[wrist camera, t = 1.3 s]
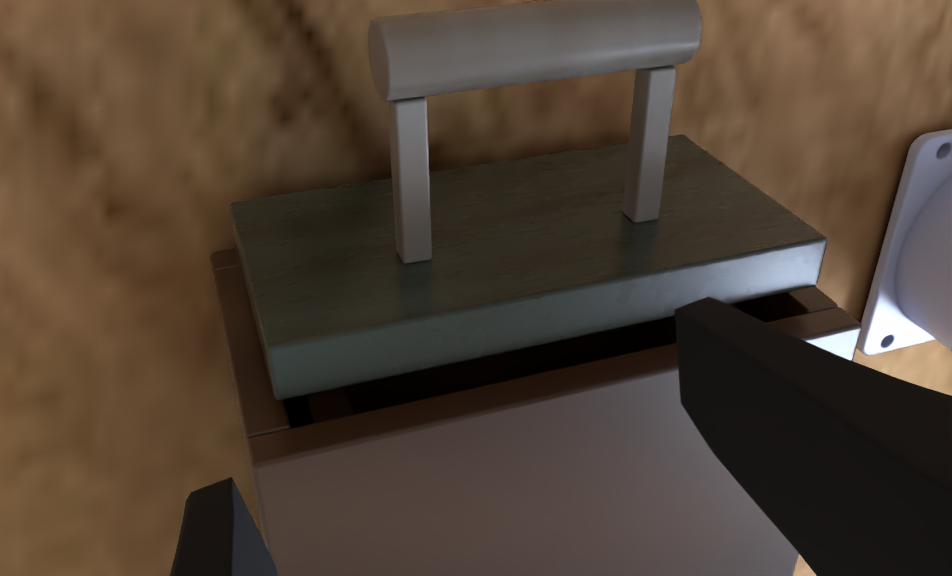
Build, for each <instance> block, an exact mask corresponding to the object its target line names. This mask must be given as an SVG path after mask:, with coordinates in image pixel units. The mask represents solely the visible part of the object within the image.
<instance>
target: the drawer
mask: <svg viewBox="0 0 952 576" xmlns="http://www.w3.org/2000/svg"><path fill="white" fill-rule="evenodd" d="M701 36H702V18H701V12H700V8H699V5H698V3H697V0H550V1H540V2H530V3H520V4H510V5H499V6H489V7H479V8H469V9H459V10H449V11H439V12H428V13H418V14H408V15H398V16H388V17H378V18H374V19H372V20H371V22H370V26H369V32H368V50H369V60H370V67H371V72H372V77H373V81H374V84H375V87H376V90H377V92H378V94H379V96H380V98H381V99H382V100H384V101H388V116H389V134H390V151H391V168H392V178H389V179H382V180H376V181H369V182H362V183H356V184H349V185H342V186H336V187H329V188H322V189H316V190H309V191H302V192H296V193H289V194H282V195H276V196H269V197H262V198H256V199H249V200H242V201H236V202H232V203H230V206H229V207H230V213H231V219H232V225H233V231H234V237H235V243H236V248H237V252H238V256H239V260H240V264H241V268H242V272H243V276H244V280H245V284H246V288H247V292H248V296H249V300H250V304H251V308H252V311H253V315H254V319H255V323H256V327H257V331H258V335H259V339H260V343H261V347H262V351H263V355H264V359H265V363H266V367H267V371H268V375H269V379H270V383H271V387H272V391H273V395H274V397H275V399H276V400H284V399H289V398H291V402H292V408H293V415H294V422H295V427H300V426H304V425H309V424H313V423H318V422H322V421H327V420H331V419H336V418H340V417H345V416H349V415H354V414H358V413H363V412H367V411H372V410H376V409H381V408H385V407H390V406H394V405H399V404H403V403H408V402H412V401H417V400H421V399H426V398H430V397H434V396H439V395H443V394H448V393H452V392H457V391H461V390H466V389H470V388H475V387H479V386H484V385H488V384H493V383H497V382H502V381H506V380H511V379H515V378H520V377H524V376H529V375H533V374H538V373H542V372H547V371H551V370H556V369H560V368H565V367H569V366H574V365H578V364H583V363H587V362H592V361H596V360H601V359H605V358H610V357H614V356H619V355H623V354H628V353H632V352H637V351H641V350H646V349H650V348H655V347H659V346H663V345H668V344H672V343H677V338H676V322H675V309H677V308H679V307H682V306H685V305H687V304H690V303H693V302H695V301H698V300H700V299H703V298H706V297H708V296H709V297H711V298H714V299H716V300H718V301H720V302H723V303H725V304H727V305H729V306H731V307H733V308H735V309H738V310H740V309H739V308H738V307H737V306H736V305H735V304H734V303H739V302H744V301H748V300H753V299H758V298H762V297H767V296H772V295H776V294H781V293H786V292H790V291H795V290H800V289H804V288H809V287H814V286H816V284H817V282H818V278H819V274H820V270H821V265H822V261H823V257H824V253H825V249H826V244H827V238H826V237H825V236H824V235H823V234H821V233H820V232H818V231H817V230H816V229H814V228H813V227H811V226H810V225H809V224H807V223H806V222H804V221H803V220H802V219H800V218H799V217H797V216H796V215H795V214H793V213H792V212H791V211H789V210H788V209H786V208H785V207H784V206H782V205H781V204H779V203H778V202H777V201H775V200H774V199H772V198H771V197H770V196H768V195H767V194H766V193H764V192H763V191H761V190H760V189H759V188H757V187H756V186H754V185H753V184H752V183H750V182H749V181H747V180H746V179H745V178H743V177H742V176H740V175H739V174H738V173H736V172H735V171H734V170H732V169H731V168H729V167H728V166H727V165H725V164H724V163H722V162H721V161H720V160H718V159H717V158H715V157H714V156H713V155H711V154H710V153H709V152H707V151H706V150H704V149H703V148H702V147H700V146H699V145H697V144H696V143H695V142H693V141H692V140H690V139H689V138H688V137H686V136H685V135H675V136H669V137H668V135H669V127H670V118H671V110H672V102H673V93H674V85H675V77H676V68H675V67H673V66H672V65H678V64H684V63H687V62H689V61H690V60H691V59H692V58H693V57H694V56H695V54H696V53H697V51H698V48H699V45H700V41H701ZM630 70H636V71H635V82H634V92H633V103H632V113H631V124H630V134H629V143H622V144H615V145H609V146H602V147H595V148H589V149H582V150H576V151H569V152H562V153H556V154H549V155H542V156H536V157H529V158H522V159H516V160H509V161H502V162H496V163H489V164H482V165H476V166H469V167H462V168H456V169H449V170H442V171H436V172H429V149H428V119H427V101H426V99H425V98H424V97H423V96H431V95H439V94H447V93H455V92H463V91H470V90H478V89H486V88H494V87H502V86H510V85H518V84H526V83H534V82H542V81H550V80H558V79H566V78H574V77H582V76H590V75H598V74H606V73H614V72H622V71H630ZM740 311H741V310H740Z"/></svg>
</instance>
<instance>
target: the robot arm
mask: <svg viewBox="0 0 952 576" xmlns="http://www.w3.org/2000/svg"><path fill="white" fill-rule="evenodd" d="M939 148H940V149H939ZM938 149H939V150H938ZM675 322H676V338H677V353H678V369H679V385H680V400H681V404H682V406H683V407H684V409H685V411H686V412H687V414H688V415H689V417H690V419H691V420H692V422H693V423H694V425H695V426H696V428H697V430H698V431H699V433H700V434H701V436H702V437H703V439H704V440H705V442H706V443H707V445H708V446H709V448H710V449H711V450H712V452H713V453H714V455H715V456H716V457H717V458H718V459H719V461H720V462H721V463H722V464H723V465H724V467H725V468H726V469H727V470H728V471H729V473H730V474H731V475H732V476H733V477H734V478H735V480H736V481H737V482H738V483H739V484H740V485H741V487H742V488H743V489H744V490H745V491H746V493H747V494H748V495H749V496H750V497H751V498H752V499H753V501H754V502H755V503H756V504H757V505H758V506H759V508H760V509H761V510H762V511H763V512H764V513H765V514H766V516H767V517H768V518H769V519H770V520H771V521H772V523H773V524H774V525H775V526H776V527H777V528H778V530H779V531H780V532H781V533H782V534H783V535H784V536H785V538H786V539H787V540H788V541H789V542H790V543H791V545H792V546H793V547H794V548H795V549H796V550H797V551H798V553H799V554H800V555H801V556H802V557H803V559H804V560H805V561H806V562H807V564H808V565H809V566H810V568H811V569H812V570H813V571H814V573H815V574H816V575H817V576H952V396H950V395H947V394H944V393H940V392H937V391H934V390H931V389H927V388H924V387H921V386H918V385H915V384H912V383H909V382H906V381H903V380H900V379H898V378H895V377H892V376H890V375H887V374H884V373H882V372H879V371H876V370H874V369H871V368H868V367H866V366H863V365H861V364H858V363H855V362H853V361H851V360H848V359H846V358H843V357H841V356H838V355H836V354H834V353H831V352H829V351H827V350H824V349H822V348H820V347H817V346H815V345H813V344H811V343H808V342H806V341H804V340H802V339H800V338H797V337H795V336H793V335H791V334H789V333H786V332H784V331H782V330H780V329H778V328H776V327H774V326H771V325H769V324H767V323H765V322H763V321H761V320H759V319H757V318H754V317H752V316H750V315H748V314H746V313H744V312H742V311H740V310H738V309H735V308H733V307H731V306H729V305H727V304H725V303H723V302H720V301H718V300H716V299H714V298H711V297H709V296H708V297H706V298H703V299H700V300H698V301H695V302H693V303H690V304H687V305H685V306H682V307H679V308H677V309H675ZM861 326H862V328H861V332H860V336H859V339H858V343H857V349H858V350H859V351H861V352H862V353H863V354H865V355H873V354H877V353H881V352H886V351H890V350H894V349H898V348H902V347H906V346H910V345H914V344H918V343H922V342H927V341H931V340H935V339H936V340H938V341H939V342H940V343H942V344H943V345H944V346H946V347H947V348H948V349H950V350H951V351H952V129H949V130H943V131H937V132H930V133H926V134H923V135H921V136H919V137H918V138H917V139H915V141H914V142H913V143H912V144H911V147H910V149H909V152H908V155H907V159H906V163H905V166H904V170H903V173H902V177H901V181H900V184H899V188H898V191H897V195H896V199H895V202H894V206H893V210H892V213H891V217H890V220H889V224H888V228H887V231H886V235H885V239H884V242H883V246H882V249H881V253H880V257H879V260H878V264H877V267H876V271H875V275H874V278H873V282H872V286H871V289H870V293H869V296H868V300H867V304H866V307H865V311H864V315H863V318H862V322H861ZM170 576H278V573H277V569H276V565H275V563H274V561H273V559H272V557H271V555H270V553H269V551H268V549H267V547H266V545H265V543H264V541H263V539H262V537H261V535H260V533H259V531H258V529H257V527H256V525H255V523H254V521H253V519H252V517H251V515H250V513H249V511H248V508H247V506H246V504H245V502H244V500H243V498H242V496H241V494H240V492H239V490H238V488H237V486H236V484H235V482H234V480H233V478H232V477H230V478H228V479H225V480H222V481H220V482H217V483H214V484H212V485H209V486H206V487H204V488H201V489H198V490H196V491H193V492H191V493H190V494H189V496H188V498H187V500H186V502H185V509H184V515H183V520H182V525H181V530H180V535H179V540H178V544H177V549H176V553H175V557H174V561H173V565H172V569H171V573H170Z"/></svg>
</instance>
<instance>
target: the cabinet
mask: <svg viewBox="0 0 952 576" xmlns="http://www.w3.org/2000/svg"><path fill="white" fill-rule="evenodd" d="M210 261H211V266H212V271H213V277H214V282H215V288H216V293H217V298H218V304H219V309H220V314H221V320H222V325H223V330H224V336H225V341H226V346H227V352H228V357H229V362H230V368H231V373H232V378H233V384H234V389H235V394H236V400H237V405H238V411H239V416H240V421H241V427H242V432H243V437H244V443H245V448H246V453H247V459H248V464H249V469H250V475H251V480H252V485H253V491H254V496H255V501H256V507H257V512H258V517H259V523H260V528H261V533H262V539H263V541H264V543H265V545H266V547H267V549H268V551H269V553H270V555H271V557H272V559H273V561H274V563H275V565H276V569H277V573H278V576H793V573H794V570H795V566H796V563H797V559H798V555H799V553H798V551H797V550H796V549H795V548H794V547H793V546H792V545H791V543H790V542H789V541H788V540H787V539H786V538H785V536H784V535H783V534H782V533H781V532H780V531H779V530H778V528H777V527H776V526H775V525H774V524H773V523H772V521H771V520H770V519H769V518H768V517H767V516H766V514H765V513H764V512H763V511H762V510H761V509H760V508H759V506H758V505H757V504H756V503H755V502H754V501H753V499H752V498H751V497H750V496H749V495H748V494H747V493H746V491H745V490H744V489H743V488H742V487H741V485H740V484H739V483H738V482H737V481H736V480H735V478H734V477H733V476H732V475H731V474H730V473H729V471H728V470H727V469H726V468H725V467H724V465H723V464H722V463H721V462H720V461H719V459H718V458H717V457H716V456H715V455H714V453H713V452H712V450H711V449H710V448H709V446H708V445H707V443H706V442H705V440H704V439H703V437H702V436H701V434H700V433H699V431H698V430H697V428H696V426H695V425H694V423H693V422H692V420H691V419H690V417H689V415H688V414H687V412H686V411H685V409H684V407H683V406H682V404H681V400H680V385H679V369H678V353H677V343H672V344H668V345H663V346H659V347H655V348H650V349H646V350H641V351H637V352H632V353H628V354H623V355H619V356H614V357H610V358H605V359H601V360H596V361H592V362H587V363H583V364H578V365H574V366H569V367H565V368H560V369H556V370H551V371H547V372H542V373H538V374H533V375H529V376H524V377H520V378H515V379H511V380H506V381H502V382H497V383H493V384H488V385H484V386H479V387H475V388H470V389H466V390H461V391H457V392H452V393H448V394H443V395H439V396H434V397H430V398H426V399H421V400H417V401H412V402H408V403H403V404H399V405H394V406H390V407H385V408H381V409H376V410H372V411H367V412H363V413H358V414H354V415H349V416H345V417H340V418H336V419H331V420H327V421H322V422H318V423H313V424H309V425H304V426H300V427H295V422H294V415H293V408H292V402H291V398H289V399H284V400H276V399H275V397H274V395H273V391H272V387H271V383H270V379H269V375H268V371H267V367H266V363H265V359H264V355H263V351H262V347H261V343H260V339H259V335H258V331H257V327H256V323H255V319H254V315H253V311H252V308H251V304H250V300H249V296H248V292H247V288H246V284H245V280H244V276H243V272H242V268H241V264H240V260H239V256H238V252H237V250H231V251H225V252H219V253H213V254H211V255H210ZM734 304H735V305H736V306H737V307H738V308H739V309H740V310H741V311H742V312H744V313H746V314H748V315H750V316H752V317H754V318H757V319H759V320H761V321H763V322H765V323H767V324H769V325H771V326H774V327H776V328H778V329H780V330H782V331H784V332H786V333H789V334H791V335H793V336H795V337H797V338H800V339H802V340H804V341H806V342H808V343H811V344H813V345H815V346H817V347H820V348H822V349H824V350H827V351H829V352H831V353H834V354H836V355H838V356H841V357H843V358H846V359H848V360H851V361H853V357H854V354H855V350H856V347H857V343H858V339H859V336H860V332H861V328H862V326H861V324H860V323H859V322H858V321H857V320H856V319H854V318H853V317H852V316H851V315H849V314H848V313H847V312H846V311H844V310H843V309H842V308H840V307H838V306H837V303H835V302H834V301H833V300H832V299H830V298H829V297H828V296H827V295H825V294H824V293H823V292H822V291H820V290H819V289H818V288H817V287H815V286H814V287H809V288H804V289H800V290H795V291H790V292H786V293H781V294H776V295H772V296H767V297H762V298H758V299H753V300H748V301H744V302H739V303H734Z"/></svg>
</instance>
